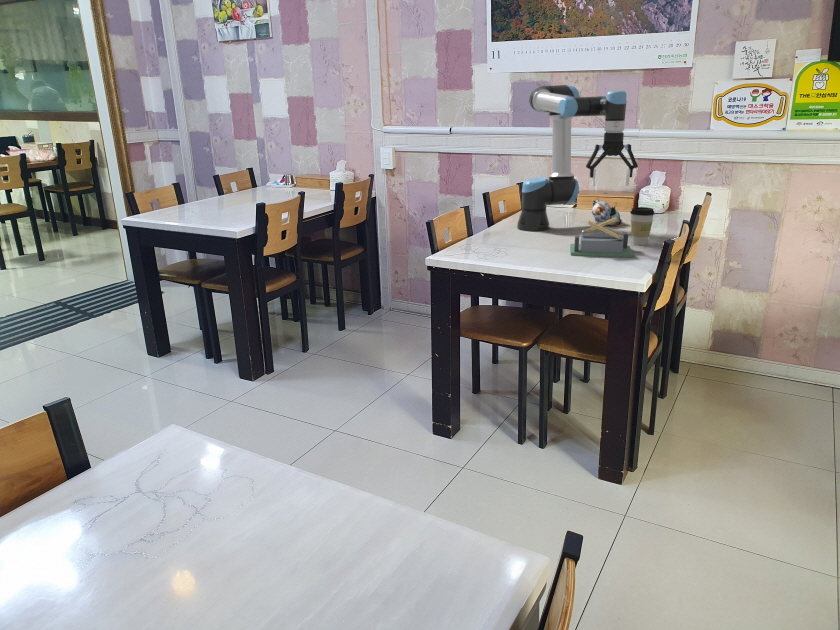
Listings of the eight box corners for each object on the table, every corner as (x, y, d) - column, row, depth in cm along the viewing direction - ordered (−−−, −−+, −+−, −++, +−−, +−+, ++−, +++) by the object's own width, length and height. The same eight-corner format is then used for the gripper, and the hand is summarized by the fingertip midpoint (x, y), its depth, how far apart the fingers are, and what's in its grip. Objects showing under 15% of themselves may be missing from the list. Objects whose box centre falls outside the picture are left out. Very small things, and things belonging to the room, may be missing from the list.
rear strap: (582, 235, 269) (581, 232, 269) (582, 233, 273) (581, 230, 273) (617, 221, 265) (616, 217, 264) (617, 219, 268) (615, 215, 268)
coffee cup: (653, 246, 274) (656, 211, 269) (628, 246, 276) (631, 210, 271) (650, 241, 283) (653, 207, 278) (626, 241, 285) (629, 206, 280)
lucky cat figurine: (625, 226, 313) (617, 202, 306) (600, 235, 316) (592, 212, 309) (617, 212, 325) (609, 188, 318) (594, 221, 328) (585, 198, 321)
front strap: (621, 239, 262) (623, 235, 261) (621, 241, 258) (623, 237, 258) (587, 223, 262) (589, 219, 262) (587, 225, 259) (589, 221, 258)
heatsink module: (570, 255, 263) (571, 238, 261) (570, 246, 277) (571, 230, 274) (632, 257, 258) (634, 239, 256) (629, 248, 272) (630, 231, 270)
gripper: (583, 132, 258) (580, 187, 265) (648, 131, 256) (643, 186, 263) (580, 131, 265) (577, 184, 272) (644, 130, 263) (639, 184, 270)
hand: (610, 185), depth 268 cm, fingers open, 13 cm apart
